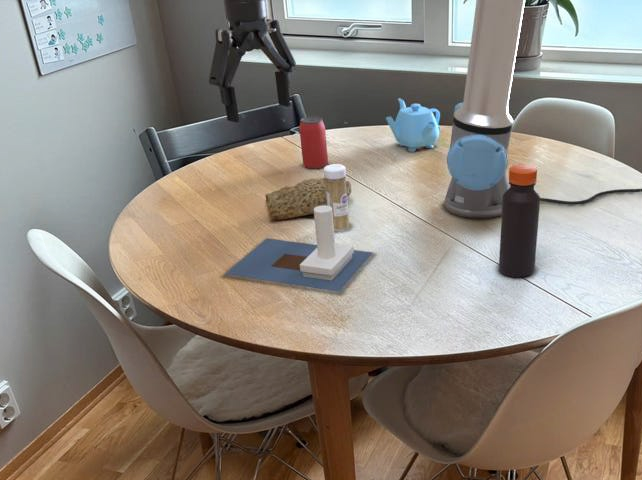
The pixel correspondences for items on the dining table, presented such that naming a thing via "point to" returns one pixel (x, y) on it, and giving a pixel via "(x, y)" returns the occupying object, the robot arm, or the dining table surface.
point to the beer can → (313, 142)
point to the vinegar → (519, 223)
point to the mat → (291, 265)
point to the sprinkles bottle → (337, 194)
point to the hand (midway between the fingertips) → (259, 113)
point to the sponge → (298, 199)
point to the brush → (326, 249)
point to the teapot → (415, 126)
